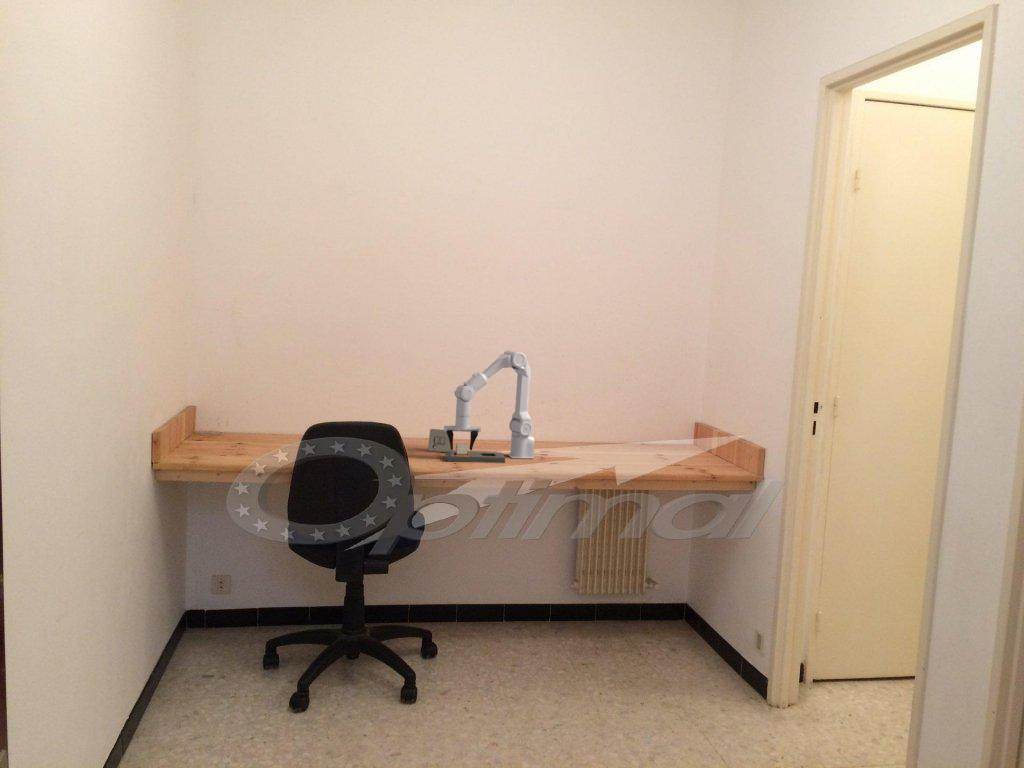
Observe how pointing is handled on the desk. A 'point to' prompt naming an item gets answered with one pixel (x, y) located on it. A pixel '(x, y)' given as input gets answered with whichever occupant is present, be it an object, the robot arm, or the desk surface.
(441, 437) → the electrical switch
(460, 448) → the peg
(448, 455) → the grey board with holes
